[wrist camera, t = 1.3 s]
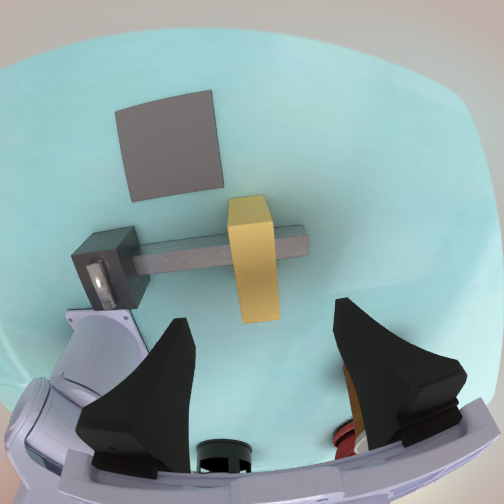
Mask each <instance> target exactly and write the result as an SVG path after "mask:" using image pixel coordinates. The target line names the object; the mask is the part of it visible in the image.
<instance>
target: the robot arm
mask: <svg viewBox="0 0 504 504" xmlns="http://www.w3.org/2000/svg"><path fill="white" fill-rule="evenodd" d="M65 316H66V318H67V320H68V322H69V324H70V326H71V327H72V329H73V331H74V333H73V335H72V336H71V338H70V340H69V342H68V344H67V345H66V347H65V349H64V351H63V353H62V355H61V356H60V358H59V360H58V362H57V364H56V366H55V368H54V370H53V372H52V374H51V376H50V378H49V380H47V379H46V378H45V377H41V378H35V379H33V380H32V381H31V382H30V383H29V385H28V386H27V387H26V389H25V390H24V392H23V394H22V395H21V397H20V399H19V401H18V402H17V404H16V406H15V409H14V411H13V413H12V416H11V419H10V423H9V426H8V428H7V430H6V432H5V435H4V443H5V451H6V453H7V456H8V457H9V459H10V461H11V463H12V465H13V466H14V468H15V470H16V471H17V473H18V474H19V476H20V478H21V479H22V480H21V483H20V485H19V488H18V490H17V493H16V496H15V498H14V501H13V504H390V503H389V502H391V501H393V500H396V499H398V498H401V497H403V496H405V495H408V494H410V493H412V492H414V491H416V490H418V489H420V488H422V487H425V486H426V485H428V484H430V483H432V482H434V481H436V480H438V479H440V478H442V477H444V476H445V475H447V474H449V473H451V472H452V471H454V470H456V469H458V468H459V467H461V466H462V465H464V464H466V463H467V462H469V461H471V460H472V459H474V458H475V457H477V456H478V455H479V454H480V453H482V452H483V451H484V450H485V449H486V448H487V447H488V446H489V445H491V444H492V443H493V442H494V441H495V440H496V439H497V438H498V437H499V436H500V435H501V432H500V430H499V428H498V426H497V425H496V423H495V421H494V419H493V417H492V415H491V414H490V412H489V410H488V409H487V407H486V405H485V403H484V402H483V400H482V398H478V399H476V400H474V401H472V402H471V403H469V404H467V405H465V406H464V407H462V408H461V409H460V410H459V409H458V407H457V405H458V404H459V401H458V399H457V398H456V396H457V395H458V393H459V392H460V390H461V389H462V387H463V386H464V384H465V382H466V379H467V373H466V372H465V370H464V369H463V367H462V366H461V364H460V363H459V361H458V360H455V359H451V358H447V357H443V356H440V355H437V354H434V353H431V352H429V351H426V350H424V349H421V348H419V347H417V346H415V345H413V344H411V343H409V342H407V341H405V340H403V339H402V338H400V337H398V336H396V335H395V334H393V333H392V332H390V331H389V330H387V329H386V328H384V327H383V326H382V325H380V324H379V323H378V322H376V321H375V320H374V319H372V318H371V317H370V316H369V315H368V314H366V313H365V312H364V311H363V310H362V309H360V308H359V307H358V306H357V305H356V304H355V303H353V302H352V301H351V300H350V299H349V298H348V297H346V298H341V299H336V301H335V313H334V324H333V332H334V336H335V340H336V343H337V346H338V349H339V352H340V354H341V356H342V359H343V361H344V363H345V366H346V368H347V370H348V372H349V375H350V377H351V380H352V382H353V385H354V387H355V391H356V394H357V398H358V401H359V405H360V409H361V413H362V417H363V422H364V427H365V432H366V437H367V443H368V450H369V451H368V452H364V453H361V454H357V455H354V456H350V457H346V458H342V459H338V460H333V461H329V462H324V463H319V464H314V465H309V466H303V467H297V468H290V469H283V470H275V471H265V472H254V473H237V474H191V470H190V458H189V403H190V396H191V390H192V383H193V377H194V370H195V359H196V346H195V343H194V341H193V338H192V335H191V331H190V328H189V325H188V322H187V319H186V318H175V319H173V321H172V322H171V323H170V325H169V326H168V328H167V329H166V331H165V332H164V334H163V335H162V336H161V338H160V339H159V341H158V342H157V343H156V345H155V346H154V347H153V349H152V350H151V351H150V353H148V351H147V349H146V347H145V344H144V342H143V340H142V338H141V336H140V334H139V332H138V329H137V327H136V325H135V323H134V320H133V318H132V316H131V313H130V311H129V310H128V309H126V310H109V311H94V309H90V310H68V311H66V313H65ZM125 316H127V317H128V318H127V317H125ZM29 447H30V448H31V449H30V448H29ZM32 449H33V450H34V451H33V450H32ZM35 451H36V452H37V453H36V452H35ZM38 453H39V454H38ZM40 454H41V455H42V456H41V455H40ZM43 456H44V457H45V458H44V457H43ZM46 458H47V459H46ZM48 459H49V460H50V461H49V460H48ZM51 461H52V462H51ZM53 462H54V463H56V464H57V465H56V464H54V463H53ZM58 465H59V466H58ZM60 466H61V467H60ZM62 467H63V468H62Z"/></svg>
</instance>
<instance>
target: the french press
mask: <svg viewBox="0 0 504 504" xmlns="http://www.w3.org/2000/svg"><path fill="white" fill-rule="evenodd" d="M196 450H197V452H198V453H197V474H200V471H201V468H202V469H205V470H208V471H209V472H207V473H203V474H237V473H240V471H244V470H246V473H251V465H252V464H251V452H252V448H251V446H250V445H248V444H247V443H244V442H241V441H237V440H229V439H214V440H207V441H204V442H201V443H199V444H198V445H197V447H196Z"/></svg>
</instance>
